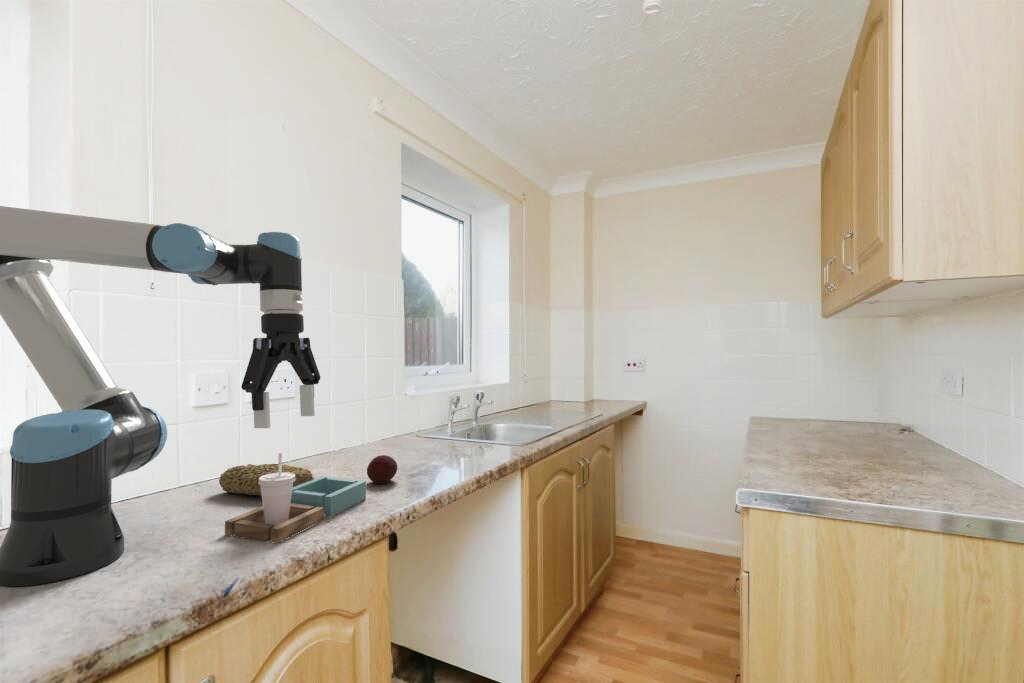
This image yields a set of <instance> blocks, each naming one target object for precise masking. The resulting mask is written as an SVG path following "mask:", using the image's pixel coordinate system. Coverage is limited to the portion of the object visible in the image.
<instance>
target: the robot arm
mask: <svg viewBox="0 0 1024 683" xmlns="http://www.w3.org/2000/svg"><path fill="white" fill-rule="evenodd" d="M300 246H301V245H300V240H299V238H298V237H297V236H295V235H294V234H291V233H288V232H287V233H286V232H279V231H268V232H261V233H260V234H258V236H257V241H256V243H253V244H228V243H226V242H224V241H222V240H221V239H219V238H217V237H214V236H213V235H212V234H209V233H208V232H206V231H204V229H201V228H199V227H197V226H193V225H189V224H186V223H179V222H177V223H176V222H175V223H170V224H168V225H167V224H166V225H161V224H153V223H146V222H136V221H129V220H120V219H113V218H103V217H94V216H86V215H80V214H79V215H78V214H71V213H63V212H53V211H45V210H39V209H38V210H36V209H29V208H21V207H20V208H19V207H11V206H5V205H0V316H1V318H2V319H3V321H4V323H5V324H6V326H7V328H8V329H9V330H10V332H11V333H12V335H13V337H14V339H15V340H16V342H17V343H18V344H19V346H20V348H21V349H22V350H23V352H24V353H25V355H26V356H27V358H28V360H29V361H30V363H31V364H32V366H33V368H34V369H35V371H36V372H37V373H38V376H40V378H41V379H42V381H43V382H44V385H45V386H46V387H47V389H48V391H49V392H50V394H51V396H52V397H53V398H54V400H55V401H56V403H57V405H58V406H59V408H60V409H61V411H60V412H56V413H55V412H53V413H47V414H43V415H39V416H35V417H32V418H29V419H27V420H24V421H22V422H21V423H19V424H18V425H17V426H16V428H15V429H14V431H13V434H12V444H11V446H10V447H9V448H10V449H9V453H10V457H11V463H10V466H11V468H10V471H11V472H10V473H11V474H10V475H11V476H10V479H11V481H10V487H11V488H10V524H9V526H8V529H7V531H6V534H5V536H4V539H3V541H2V543H1V545H0V586H7V587H25V586H26V587H27V586H35V585H42V584H48V583H53V582H59V581H62V580H67V579H71V578H74V577H77V576H82V575H84V574H86V573H90V572H93V571H96V570H98V569H100V568H102V567H105V566H107V565H109V564H110V563H112V562H114V561H116V560H117V559H119V558H120V557H121V556H122V555H123V554H124V552H125V536H124V534H123V531H122V528H121V527H120V524H119V522H118V520H117V519H118V518H117V517H116V514H115V511H114V510H113V507H112V488H113V487H112V485H113V484H112V483H113V482H112V480H113V479H115V478H117V477H120V476H123V475H125V474H126V473H130V472H134V471H137V470H139V469H140V468H141V467H144V466H145V465H147V464H148V463H150V462H152V461H153V460H154V459H155V458H157V457H158V456H159V454H160V453H161V452H162V451H163V449H164V448H165V445H166V441H167V440H168V428H167V427H168V426H167V424H166V421H165V420H164V418H163V416H162V415H161V414H160V413H159V412H157V410H154V409H152V408H150V407H146V406H143V405H141V403H140V402H139V400H138V398H137V397H136V395H135V393H134V392H133V391H132V390H129V389H125V388H121V387H119V386H118V384H116V382H115V381H114V379H113V377H112V376H111V374H110V373H109V371H108V370H107V367H106V366H105V364H104V363H103V361H102V360H101V358H100V356H98V354H97V353H96V351H95V349H94V347H93V346H92V344H91V343H90V341H89V340H88V338H87V335H85V333H84V331H83V330H82V329H81V327H80V326H79V323H78V322H77V321H76V319H75V318H74V316H73V315H72V313H71V311H70V309H69V308H68V307H67V305H66V304H65V302H64V300H63V298H62V297H61V295H60V294H59V292H58V291H57V289H56V288H55V286H54V284H53V283H52V281H51V280H50V278H49V277H51V274H52V272H53V270H54V266H53V264H52V263H51V261H60V262H68V263H78V264H79V263H80V264H88V265H89V264H90V265H98V266H99V265H100V266H108V267H119V268H129V269H137V270H138V269H139V270H148V271H157V272H163V273H164V272H165V273H174V274H183V275H187V276H188V277H189V278H190V279H191V282H193V283H196V284H197V285H212V286H218V285H235V284H236V285H238V284H239V285H241V284H256V285H257V284H259V308H260V312H262V313H263V314H262V315H261V316H260V325H261V326H260V327H261V328H260V329H261V333H262V334H264V335H265V336H266V337H256V338H253V340H252V352H251V354H250V358H249V361H248V364H247V367H246V371H245V373H244V377H243V380H242V383H241V389H242V391H245V393H248V394H250V393H251V409H252V411H253V426H254V427H253V428H254V429H270V428H271V414H270V412H271V411H270V410H271V409H270V391H266V390H267V387H268V386H269V383H270V381H271V379H272V378H273V375H274V373H275V372H276V370H277V368H278V367H279V364H280V363H282V362H287V363H290V365H291V367H292V369H293V370H294V373H296V375H297V377H298V379H299V380H300V382H301V383H302V384H299V403H300V404H299V405H300V408H299V409H300V417H314V416H316V415H315V385H318V384H319V383H320V380H321V374H320V371H319V369H318V365H317V362H316V359H315V356H314V353H313V351H312V348H311V339H310V338H309V337H300V335H299V334H302V333H303V332H305V327H304V326H305V325H304V315H303V314H301V312H302V311H304V306H303V305H304V304H303V287H302V286H303V285H302V283H303V282H302V278H303V277H302V276H303V275H302V261H303V260H302V257H301V256H302V254H301V247H300Z"/></svg>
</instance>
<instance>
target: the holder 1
mask: <svg viewBox="0 0 1024 683" xmlns="http://www.w3.org/2000/svg"><path fill="white" fill-rule="evenodd" d="M289 518H292V519H289ZM322 520H323V521H324V520H325V514H324V507H316V508H315V506H309V505H301V504H294V503H290V510H289V517H288V521H286V522H284V523H281V524H279V525H277V526H275V527H274V525H273V524H266V523H265V519H264V511H263V505H262V506H259V507H257V508H254V509H252V510H250V511H249V510H248V511H247V512H245V513H242V514H239V515H237V516H235V517H231V518H229V519H227V520H225V521H224V536H229V535H232V536H234V537H235V536H237V537H236V538H241V537H244V538H243V539H247V538H249V539H248V540H253V539H255V540H254V541H259V540H262V541H261V542H265V541H268V542H270V543H271V542H274V543H273V544H277V543H278V544H280V543H281V542H280V541H282V540H284V541H285V539H286V538H288V537H290V538H292V537H293V536H292V535H294V534H296V533H298V532H300V531H302V530H304V529H306V528H308V527H309V528H311V527H313V526H315V525H317V524H320V523H321V522H323V521H322ZM320 521H321V522H320ZM261 522H262V523H261ZM316 523H317V524H316ZM314 524H315V525H314ZM312 525H313V526H312ZM310 526H311V527H310ZM309 528H308V529H309ZM306 530H307V529H306ZM304 531H305V530H304ZM302 532H303V531H302ZM300 533H301V532H300ZM298 534H299V533H298ZM296 535H297V534H296ZM291 536H292V537H291ZM294 536H295V535H294ZM288 539H289V538H288ZM286 540H287V539H286ZM279 542H280V543H279ZM282 542H283V541H282Z"/></svg>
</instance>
